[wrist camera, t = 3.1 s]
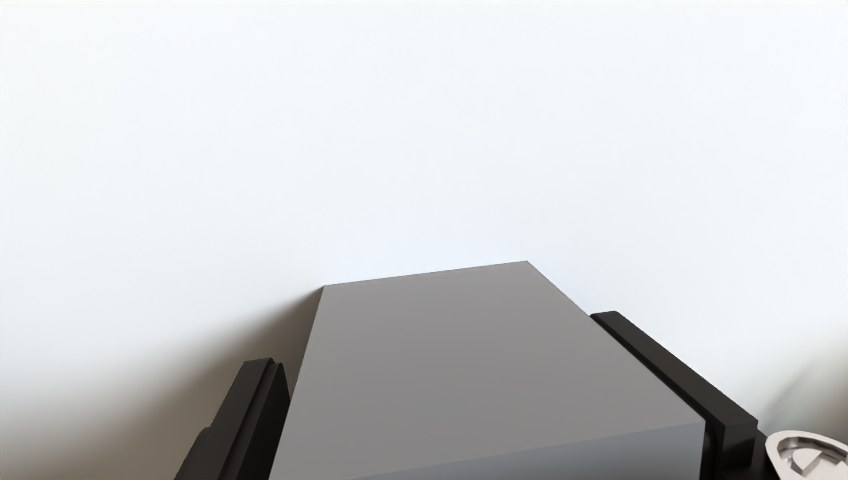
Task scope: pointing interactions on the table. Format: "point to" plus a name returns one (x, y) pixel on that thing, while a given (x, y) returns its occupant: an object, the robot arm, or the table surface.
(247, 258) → the table surface
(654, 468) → the block
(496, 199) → the table surface
